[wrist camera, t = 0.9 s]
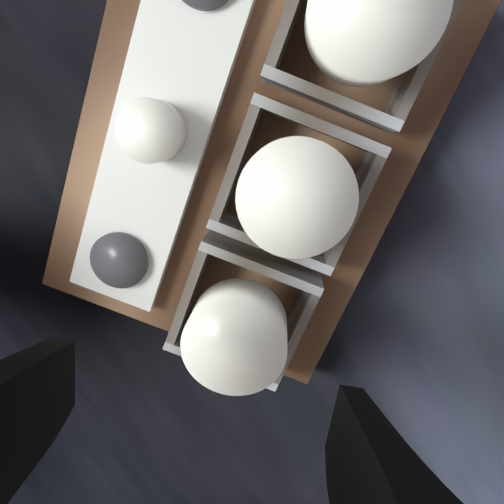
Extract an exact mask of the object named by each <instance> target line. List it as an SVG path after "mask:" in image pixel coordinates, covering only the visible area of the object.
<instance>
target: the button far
mask: <svg viewBox="0 0 504 504" xmlns="http://www.w3.org/2000/svg"><path fill="white" fill-rule="evenodd" d="M180 350H181V356H182V359H183V362H184V364H185V366H186V368H187V369H188V371H189V373H190V374H191V375H192V376H193V377H194V378H195V379H196V380H197V381H198V382H199V383H200V384H202V385H203V386H205V387H206V388H208V389H210V390H212V391H214V392H217V393H220V394H224V395H231V396H243V395H250V394H253V393H256V392H259V391H261V390H263V389H265V388H267V387H268V386H270V385H271V384H272V383H273V382H274V381H275V380H276V379H277V378H278V377H279V375H280V374H281V372H282V371H283V369H284V366H285V364H286V360H287V351H288V348H287V317H286V312H285V309H284V307H283V305H282V303H281V301H280V300H279V298H278V297H277V296H276V295H275V294H274V293H273V292H272V291H271V290H270V289H269V288H267V287H266V286H264V285H263V284H260V283H258V282H256V281H253V280H249V279H241V278H234V279H227V280H223V281H220V282H218V283H216V284H214V285H212V286H211V287H209V288H208V289H207V290H206V291H205V292H204V293H203V294H202V295H201V296H200V298H199V299H198V301H197V303H196V305H195V307H194V309H193V311H192V313H191V315H190V317H189V319H188V321H187V323H186V325H185V327H184V329H183V332H182V335H181V341H180Z"/></svg>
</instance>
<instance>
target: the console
mask: <svg viewBox="0 0 504 504" xmlns="http://www.w3.org/2000/svg"><path fill="white" fill-rule="evenodd" d="M140 1H141V0H107V4H106V8H105V13H104V17H103V21H102V26H101V30H100V34H99V39H98V43H97V47H96V52H95V56H94V60H93V65H92V69H91V73H90V78H89V82H88V86H87V91H86V95H85V99H84V104H83V108H82V112H81V117H80V121H79V126H78V130H77V134H76V139H75V143H74V147H73V152H72V156H71V160H70V165H69V169H68V173H67V178H66V182H65V186H64V191H63V195H62V199H61V204H60V208H59V212H58V217H57V221H56V225H55V230H54V234H53V238H52V243H51V247H50V251H49V256H48V260H47V265H46V269H45V273H44V278H43V282H42V284H44V285H47V286H50V287H52V288H55V289H57V290H60V291H63V292H65V293H68V294H71V295H73V296H76V297H79V298H81V299H84V300H87V301H89V302H92V303H94V304H97V305H100V306H102V307H105V308H108V309H110V310H113V311H116V312H118V313H121V314H124V315H126V316H129V317H132V318H134V319H137V320H139V321H142V322H145V323H147V324H150V325H153V326H155V327H158V328H161V329H163V330H166V331H169V333H168V336H167V338H166V341H165V344H164V347H163V350H166V351H168V352H171V353H174V354H176V355H179V356H181V350H180V341H181V335H182V332H183V329H184V327H185V325H186V323H187V321H188V319H189V317H190V315H191V313H192V311H193V309H194V307H195V305H196V303H197V301H198V299H199V298H200V296H201V295H202V294H203V293H204V292H205V291H206V290H207V289H208V288H209V287H211V286H212V285H214V284H216V283H218V282H220V281H223V280H227V279H234V278H241V279H249V280H253V281H256V282H258V283H260V284H263V285H264V286H266V287H267V288H269V289H270V290H271V291H272V292H273V293H274V294H275V295H276V296H277V297H278V298H279V300H280V301H281V303H282V305H283V307H284V309H285V312H286V317H287V348H288V351H287V360H286V364H285V366H284V369H283V371H282V372H281V374H280V375H279V377H278V378H277V379H276V380H275V381H274V382H273V383H272V384H271V385H270V386H268V387H267V389H269V390H272V391H276V389H277V387H278V385H279V383H280V381H281V379H282V376H283V375H285V376H288V377H290V378H293V379H295V380H298V381H301V382H303V383H306V384H307V383H308V381H309V379H310V377H311V375H312V373H313V371H314V369H315V367H316V365H317V363H318V361H319V360H320V358H321V356H322V354H323V352H324V350H325V348H326V346H327V344H328V342H329V340H330V338H331V336H332V334H333V332H334V330H335V328H336V326H337V324H338V322H339V320H340V318H341V316H342V314H343V312H344V310H345V308H346V306H347V304H348V302H349V300H350V298H351V296H352V294H353V292H354V290H355V288H356V286H357V284H358V282H359V281H360V279H361V277H362V275H363V273H364V271H365V269H366V267H367V265H368V263H369V261H370V259H371V257H372V255H373V253H374V251H375V249H376V247H377V245H378V243H379V241H380V239H381V237H382V235H383V233H384V231H385V229H386V227H387V225H388V223H389V221H390V219H391V217H392V215H393V213H394V211H395V209H396V207H397V205H398V203H399V202H400V200H401V198H402V196H403V194H404V192H405V190H406V188H407V186H408V184H409V182H410V180H411V178H412V176H413V174H414V172H415V170H416V168H417V166H418V164H419V162H420V160H421V158H422V156H423V154H424V152H425V150H426V148H427V146H428V144H429V142H430V140H431V138H432V136H433V134H434V132H435V130H436V128H437V126H438V124H439V123H440V121H441V119H442V117H443V115H444V113H445V111H446V109H447V107H448V105H449V103H450V101H451V99H452V97H453V95H454V93H455V91H456V89H457V87H458V85H459V83H460V81H461V79H462V77H463V75H464V73H465V71H466V69H467V67H468V65H469V63H470V61H471V59H472V57H473V55H474V53H475V51H476V49H477V47H478V45H479V44H480V42H481V40H482V38H483V36H484V34H485V32H486V30H487V28H488V26H489V24H490V22H491V20H492V18H493V16H494V14H495V12H496V10H497V8H498V6H499V4H500V2H501V0H454V1H453V7H452V12H451V15H450V19H449V22H448V24H447V26H446V29H445V31H444V33H443V35H442V37H441V38H440V40H439V42H438V43H437V44H436V46H435V47H434V49H433V50H432V51H431V52H430V53H429V54H428V55H427V56H426V57H425V58H424V59H423V60H422V61H421V62H420V63H418V64H417V65H416V66H414V67H413V68H411V69H410V70H408V71H406V72H404V73H402V74H400V75H398V76H396V77H394V78H392V79H389V80H387V81H385V82H383V83H380V84H377V85H374V86H370V87H350V86H346V85H342V84H339V83H337V82H335V81H333V80H332V79H330V78H329V77H327V76H326V75H325V74H324V73H323V72H322V71H321V70H320V69H319V68H318V67H317V65H316V64H315V62H314V61H313V59H312V57H311V55H310V53H309V51H308V47H307V44H306V39H305V32H304V21H305V13H306V8H307V2H308V0H256V2H255V5H254V8H253V11H252V14H251V17H250V20H249V23H248V26H247V29H246V32H245V35H244V38H243V41H242V44H241V47H240V50H239V53H238V56H237V59H236V62H235V65H234V68H233V71H232V74H231V77H230V80H229V83H228V86H227V89H226V92H225V95H224V97H223V100H222V103H221V106H220V109H219V112H218V115H217V118H216V121H215V124H214V127H213V130H212V133H211V136H210V139H209V142H208V145H207V148H206V151H205V154H204V157H203V160H202V163H201V166H200V169H199V172H198V175H197V178H196V181H195V184H194V187H193V190H192V193H191V196H190V199H189V202H188V205H187V208H186V211H185V214H184V217H183V220H182V223H181V226H180V229H179V232H178V235H177V238H176V241H175V244H174V247H173V250H172V253H171V256H170V259H169V262H168V265H167V268H166V271H165V274H164V277H163V280H162V283H161V286H160V289H159V292H158V295H157V298H156V301H155V304H154V307H153V308H152V309H151V311H150V312H148V311H146V310H143V309H140V308H138V307H135V306H132V305H130V304H127V303H125V302H122V301H119V300H117V299H114V298H111V297H109V296H106V295H103V294H101V293H98V292H96V291H93V290H90V289H88V288H85V287H82V286H80V285H77V284H74V283H72V282H69V281H70V277H71V273H72V269H73V265H74V261H75V257H76V253H77V249H78V245H79V242H80V238H81V234H82V230H83V226H84V222H85V218H86V214H87V210H88V206H89V202H90V198H91V194H92V190H93V186H94V182H95V178H96V175H97V171H98V167H99V163H100V159H101V155H102V151H103V147H104V143H105V139H106V135H107V131H108V127H109V123H110V119H111V115H112V111H113V107H114V104H115V100H116V96H117V92H118V88H119V84H120V80H121V76H122V72H123V68H124V64H125V60H126V56H127V52H128V48H129V44H130V40H131V36H132V33H133V29H134V25H135V21H136V17H137V13H138V9H139V5H140ZM294 135H296V136H306V137H311V138H314V139H317V140H320V141H323V142H325V143H327V144H329V145H330V146H332V147H333V148H335V149H336V150H337V151H338V152H340V153H341V154H342V155H343V156H344V158H345V159H346V160H347V161H348V163H349V164H350V166H351V167H352V169H353V172H354V174H355V176H356V180H357V183H358V189H359V204H358V210H357V214H356V217H355V219H354V222H353V224H352V226H351V228H350V229H349V231H348V232H347V234H346V235H345V236H344V237H343V238H342V239H341V240H340V242H338V243H337V244H336V245H335V246H334V247H332V248H331V249H329V250H327V251H326V252H323V253H321V254H319V255H316V256H313V257H309V258H303V259H289V258H283V257H279V256H276V255H273V254H271V253H269V252H267V251H265V250H263V249H262V248H260V247H259V246H258V245H257V244H255V243H254V242H253V241H252V240H251V239H250V238H249V236H248V235H247V234H246V232H245V231H244V229H243V227H242V225H241V223H240V221H239V218H238V215H237V210H236V202H235V197H236V188H237V183H238V180H239V177H240V175H241V172H242V170H243V169H244V167H245V165H246V164H247V162H248V161H249V160H250V159H251V157H252V156H253V155H255V154H256V153H257V152H258V151H259V150H260V149H261V148H262V147H264V146H265V145H267V144H268V143H270V142H272V141H274V140H276V139H279V138H282V137H286V136H294Z"/></svg>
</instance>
